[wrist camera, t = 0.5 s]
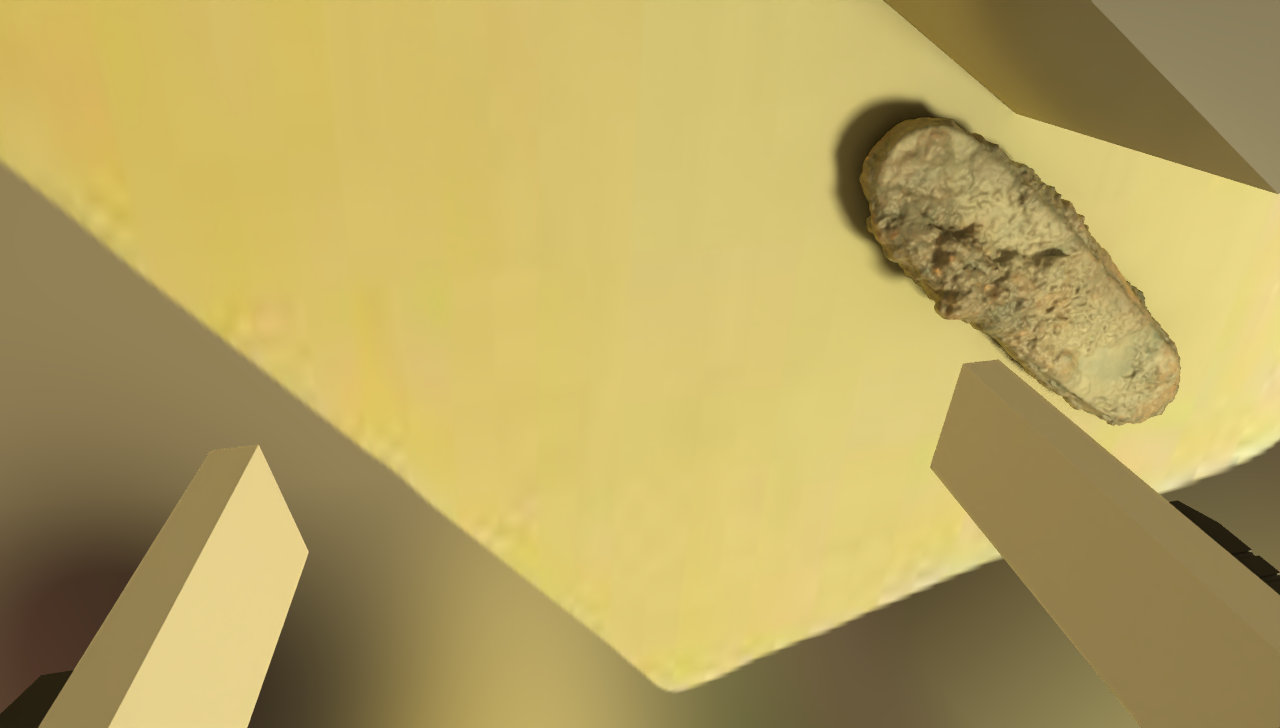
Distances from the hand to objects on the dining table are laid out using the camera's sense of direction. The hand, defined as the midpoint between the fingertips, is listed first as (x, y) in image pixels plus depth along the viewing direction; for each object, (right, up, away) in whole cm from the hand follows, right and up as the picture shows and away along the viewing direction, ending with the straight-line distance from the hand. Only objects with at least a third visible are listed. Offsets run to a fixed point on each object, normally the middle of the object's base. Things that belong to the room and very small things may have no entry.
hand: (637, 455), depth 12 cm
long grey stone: (+27, +7, +33) cm, 43 cm away
